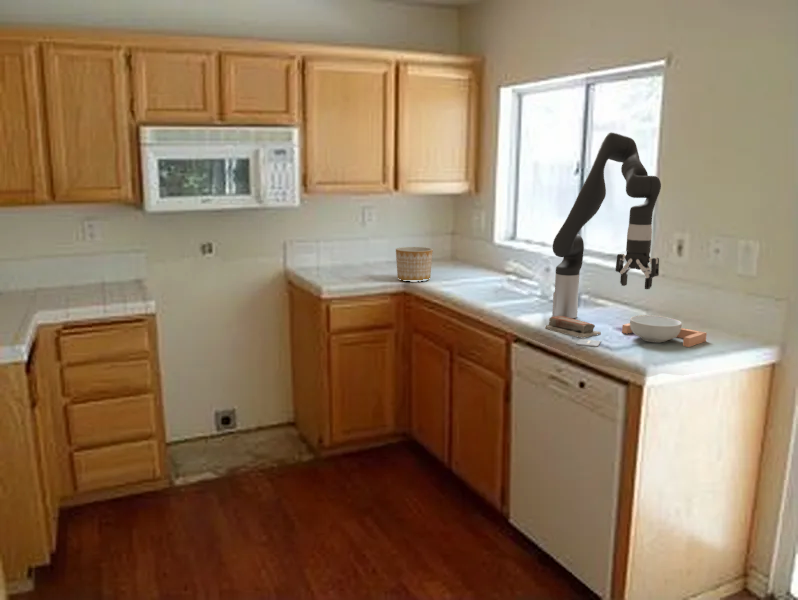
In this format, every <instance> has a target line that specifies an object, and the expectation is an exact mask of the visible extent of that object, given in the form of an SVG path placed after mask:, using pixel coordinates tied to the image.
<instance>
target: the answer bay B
mask: <svg viewBox="0 0 798 600" xmlns="http://www.w3.org/2000/svg"><path fill="white" fill-rule="evenodd" d="M621 327H622V330H621V333H622V334H625V333H626V335H628V333H629V334H631V333H633V331H632V330H631V327H630V322H629V323H624V324H622V326H621ZM707 335H708V334H707V332H705V331H700V330H694V329H689V328H688V329H687V328H682V327H681V331H680V333H679V334H678V336H677V337H676V338H680V339H683V341H682V346H683V347H686V348H691V347H693V346H695V345H699V344H702V343H705V342H706V341H707Z"/></svg>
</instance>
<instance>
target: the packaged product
mask: <svg viewBox="0 0 798 600" xmlns="http://www.w3.org/2000/svg"><path fill="white" fill-rule="evenodd" d="M546 328H547V330H550V329H551V331H554V332H558V333H562V334H565V335H568V334H570V335H569V336H572V335H573V336H572V337H576V336H578V337H577V338H580V337H582V338H581V339H585V338H584V337H586V338H590V337H589V336H591V337H594V336H593V335H595V336H598V335H597V334H600V335H601V334H602V332H601V331H597V330H594V328H595V324H593V323H590V322H587V321H583V320H582V321H581V320H580V319H576V318H568V317H564V316H555V317H554V316H551V317H549V321H548V324H545V329H546Z"/></svg>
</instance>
